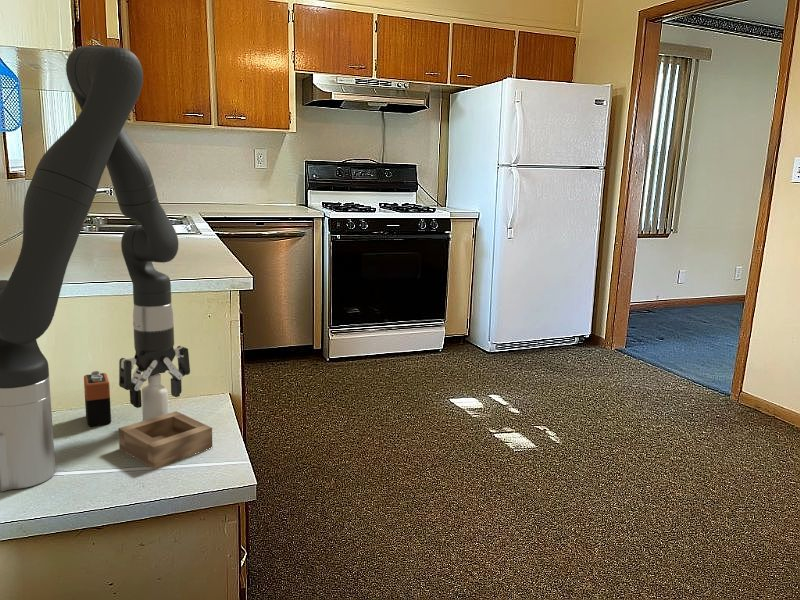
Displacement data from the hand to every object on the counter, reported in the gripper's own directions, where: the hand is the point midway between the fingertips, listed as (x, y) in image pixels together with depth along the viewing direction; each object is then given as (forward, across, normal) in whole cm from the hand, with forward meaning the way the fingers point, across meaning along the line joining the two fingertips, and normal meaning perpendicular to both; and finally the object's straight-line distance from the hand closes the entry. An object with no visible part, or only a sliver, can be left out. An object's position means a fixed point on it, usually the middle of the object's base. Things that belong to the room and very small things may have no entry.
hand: (157, 401), depth 127 cm
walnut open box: (+5, -5, -12) cm, 14 cm away
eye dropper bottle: (+5, 0, 0) cm, 5 cm away
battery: (+5, -7, +10) cm, 13 cm away
